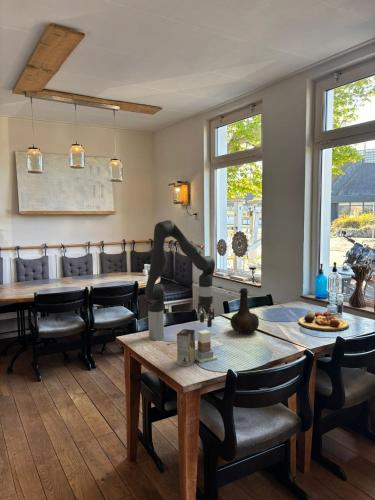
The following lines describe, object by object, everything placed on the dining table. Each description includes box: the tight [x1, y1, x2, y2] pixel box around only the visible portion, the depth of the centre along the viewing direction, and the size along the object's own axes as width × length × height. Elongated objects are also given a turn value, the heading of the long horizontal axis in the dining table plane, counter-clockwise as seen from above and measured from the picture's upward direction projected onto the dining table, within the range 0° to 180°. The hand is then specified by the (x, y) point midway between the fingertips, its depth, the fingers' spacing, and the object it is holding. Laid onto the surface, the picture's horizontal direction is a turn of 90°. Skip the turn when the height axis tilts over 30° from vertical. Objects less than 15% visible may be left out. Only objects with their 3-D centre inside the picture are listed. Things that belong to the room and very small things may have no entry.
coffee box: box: [176, 328, 196, 367], centre depth 192 cm, size 9×6×16 cm
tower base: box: [195, 348, 218, 363], centre depth 198 cm, size 10×10×4 cm
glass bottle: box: [229, 287, 260, 335], centre depth 239 cm, size 18×18×28 cm
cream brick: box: [197, 329, 212, 343], centre depth 197 cm, size 5×5×5 cm
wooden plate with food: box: [297, 311, 350, 332], centre depth 254 cm, size 32×32×8 cm
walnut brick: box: [197, 340, 212, 353], centre depth 197 cm, size 5×5×5 cm
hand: (205, 324), depth 199 cm, fingers open, 8 cm apart
